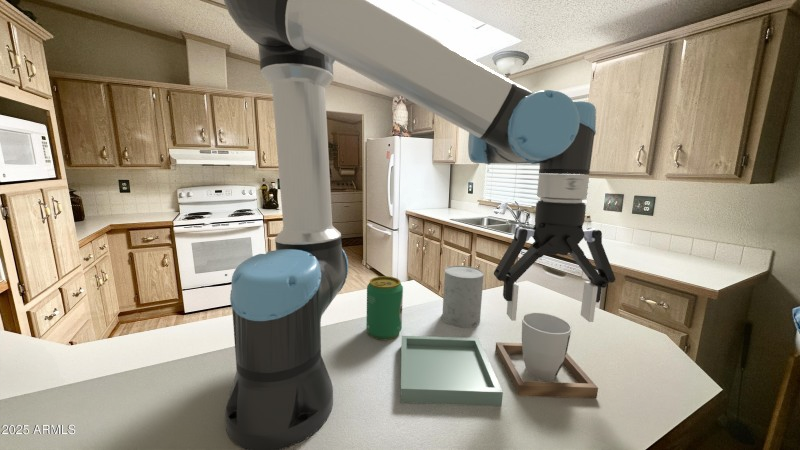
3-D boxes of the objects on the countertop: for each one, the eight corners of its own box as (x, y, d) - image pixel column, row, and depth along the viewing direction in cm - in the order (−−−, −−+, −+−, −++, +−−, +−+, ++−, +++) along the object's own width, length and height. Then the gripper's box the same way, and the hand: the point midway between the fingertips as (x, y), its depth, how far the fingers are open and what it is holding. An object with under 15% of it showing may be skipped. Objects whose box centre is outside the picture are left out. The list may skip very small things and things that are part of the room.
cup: (571, 390, 53) (578, 336, 52) (521, 383, 55) (526, 330, 53) (557, 362, 61) (563, 315, 60) (514, 356, 63) (518, 310, 61)
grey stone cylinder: (484, 328, 74) (488, 278, 72) (444, 326, 74) (447, 277, 72) (475, 310, 84) (478, 266, 81) (439, 309, 84) (442, 265, 81)
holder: (518, 395, 52) (519, 385, 51) (495, 351, 65) (496, 342, 64) (596, 398, 52) (598, 387, 51) (558, 353, 64) (559, 344, 64)
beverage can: (404, 339, 68) (405, 287, 66) (367, 341, 67) (368, 288, 65) (398, 322, 76) (400, 275, 74) (365, 323, 74) (366, 275, 72)
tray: (400, 402, 49) (401, 388, 49) (401, 346, 65) (401, 335, 65) (501, 406, 49) (502, 392, 49) (477, 349, 65) (478, 338, 65)
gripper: (493, 201, 49) (484, 326, 53) (652, 203, 49) (633, 329, 52) (481, 197, 56) (474, 307, 60) (619, 199, 56) (605, 309, 60)
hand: (548, 318), depth 56 cm, fingers open, 13 cm apart
